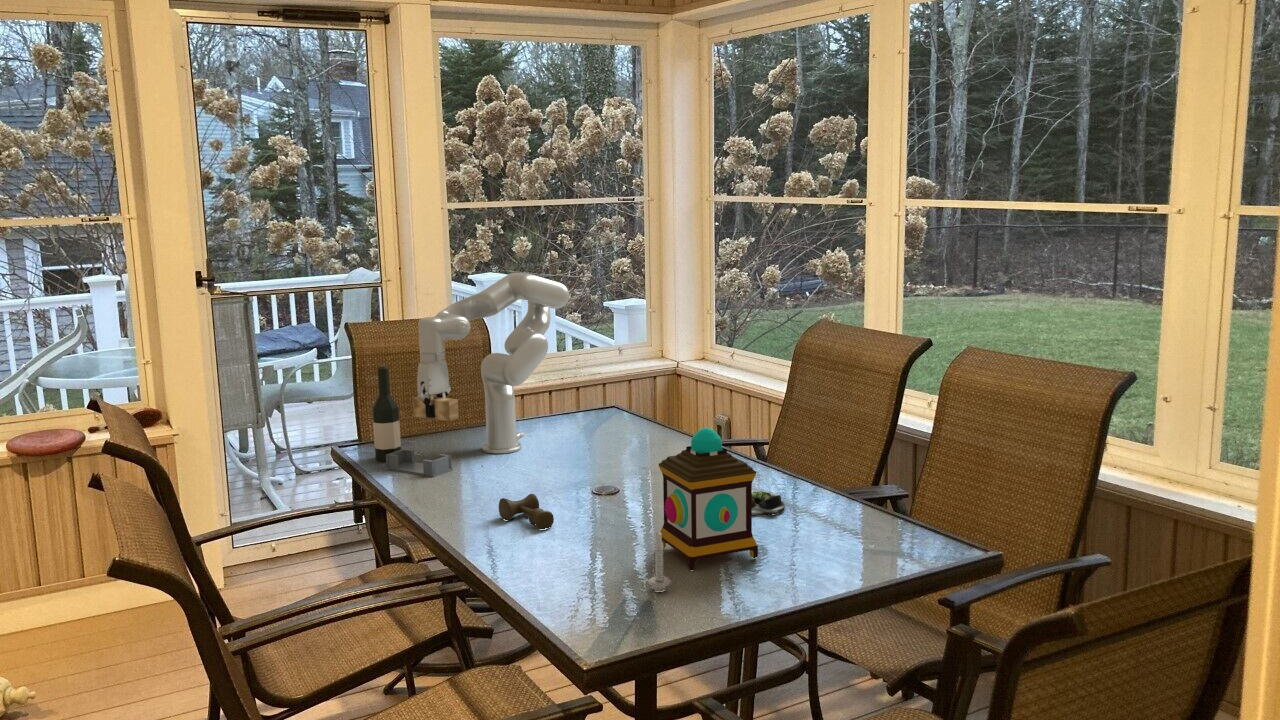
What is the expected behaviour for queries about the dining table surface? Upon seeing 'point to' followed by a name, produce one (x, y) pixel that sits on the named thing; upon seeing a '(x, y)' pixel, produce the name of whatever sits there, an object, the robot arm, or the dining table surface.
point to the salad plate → (766, 503)
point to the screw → (659, 567)
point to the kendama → (526, 511)
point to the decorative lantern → (707, 500)
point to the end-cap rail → (406, 463)
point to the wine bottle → (385, 419)
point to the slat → (437, 408)
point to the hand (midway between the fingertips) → (435, 415)
